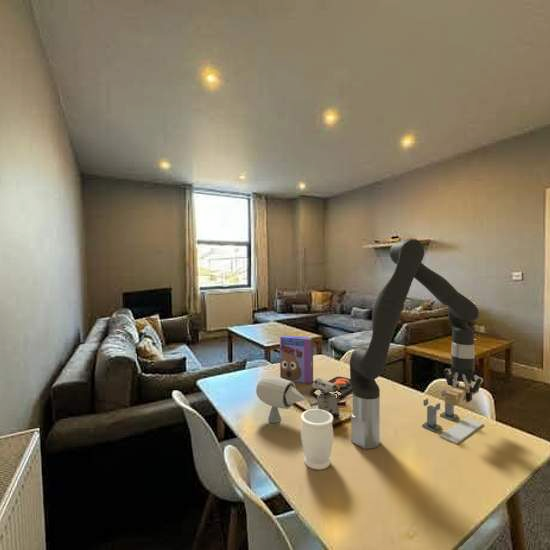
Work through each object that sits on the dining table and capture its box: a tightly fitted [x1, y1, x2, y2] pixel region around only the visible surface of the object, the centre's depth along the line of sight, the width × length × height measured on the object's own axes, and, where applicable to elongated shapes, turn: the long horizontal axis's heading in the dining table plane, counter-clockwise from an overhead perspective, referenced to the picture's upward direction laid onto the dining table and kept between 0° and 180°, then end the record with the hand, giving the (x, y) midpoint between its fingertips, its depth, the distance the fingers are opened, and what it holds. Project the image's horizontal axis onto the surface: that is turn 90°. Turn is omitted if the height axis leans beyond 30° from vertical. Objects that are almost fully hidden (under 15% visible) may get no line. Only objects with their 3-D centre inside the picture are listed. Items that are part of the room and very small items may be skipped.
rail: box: [444, 380, 480, 407], centre depth 117 cm, size 19×4×4 cm, turn 125°
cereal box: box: [279, 334, 314, 385], centre depth 169 cm, size 17×5×24 cm, turn 67°
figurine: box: [308, 377, 341, 418], centre depth 129 cm, size 9×12×15 cm
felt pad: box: [439, 417, 484, 445], centre depth 117 cm, size 22×6×1 cm, turn 125°
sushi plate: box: [310, 376, 353, 397], centre depth 152 cm, size 29×30×4 cm
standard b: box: [439, 390, 460, 422], centre depth 128 cm, size 5×5×10 cm
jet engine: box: [255, 376, 306, 423], centre depth 125 cm, size 15×20×18 cm
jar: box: [300, 408, 334, 471], centre depth 99 cm, size 11×10×15 cm
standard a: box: [421, 398, 442, 433], centre depth 119 cm, size 5×5×10 cm
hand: (462, 399), depth 117 cm, fingers closed on rail, 3 cm apart
